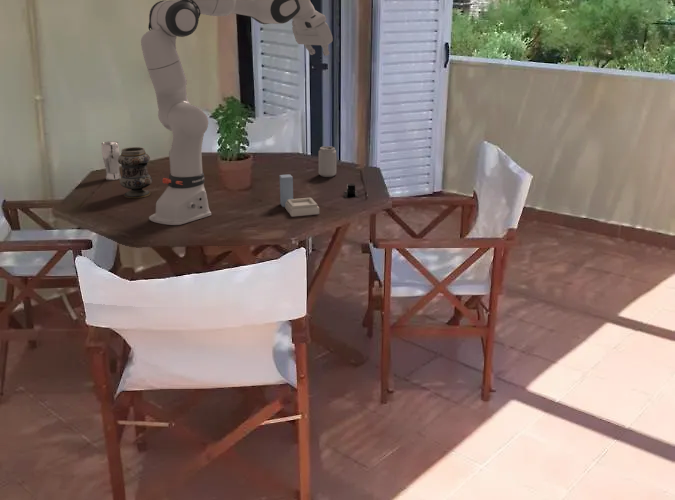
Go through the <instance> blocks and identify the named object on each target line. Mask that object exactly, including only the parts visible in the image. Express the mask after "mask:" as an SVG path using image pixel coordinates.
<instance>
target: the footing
mask: <svg viewBox="0 0 675 500" xmlns="http://www.w3.org/2000/svg"><path fill="white" fill-rule="evenodd" d="M284 208H285V209H286V211H287V213H289V215H290V217H302V216H312V215H320V207H319V206H318V203H317V202H316V201H315V200H314V199H313V198H312V197H303V198H301V197H300V198H293V199H287V202H285V207H284Z"/></svg>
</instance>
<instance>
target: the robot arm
mask: <svg viewBox="0 0 675 500" xmlns="http://www.w3.org/2000/svg"><path fill="white" fill-rule="evenodd" d="M231 14H235V15H240V16H247V17H250V18H252V19H253V20H255V21H256V22H257V23H260V24H262V25H271V24H272V25H273V24H274V25H281V24H286V23H288V22H290V20H292V21H291V25H292V27H291V30H292V33H293V37H294V39H295V41H296V42H297V44H298V45H303V46H304V47H305V49H307V51H308V53H309V55H310V56H313V55H315V54H316V50H315V48H313V46H321V48H322V49H323V51H322V54H323V56H325V57H327V56H329V55H330V54H331V52H330V51H329V44H332V42H333V39H334V38H333V37H334V36H333V34H332V31H331V29H330V27H329V24H328V23H327V22H326V21H327V17H326V15H325V14H324V13H321V12H319V11H317V10H316V9H315V6H314V5H313V3H312V2H311V0H159V1H157V2H155V4H153V6H152V7H151V8H150V10H149V15H148V30H149V31H148V30H147V31H146V32H145V33H144V34H143V35H142V36H141V39H140V46H141V50H142V56H143V59H144V62H145V67H146V69H147V72H148V75H149V77H150V81H151V83H152V86H153V89H154V92H155V96H156V102H157V108H158V111H157V117H158V120H159V121H160V123H161V124H162V126H163V127H164V128H165V129H166V130H168V131H171V132H172V140H171V141H172V142H171V147H170V150H169V151H168V157H169V158H168V159H169V170H170V171H169V172H170V174H169V176H168V178H167V177H163V178H162V183H163V184H167V187H166V188H165V189H164V191H163V192H162V194H161V195H160V197H158V199H157V201H156V203H155V213H153V214H151V215H149V216H148V220H149V221H151V222H154V223H157V224H161V225H168V226H180V225H184V224H187V223H190V222H194V221H197V220H199V219H203V218H207V217H210V216H212V212H211V210H210V208H209V206H210V205H209V201H208V195H207V191H206V188H205V174H204V171H203V158H202V156H203V154H202V149H203V148H202V147H203V143H204V142H203V140H204V137H205V133H206V132H207V131H208V128H209V119H208V116H207V114H206V113H205V111H203V110H202V109H201V108H200V107H199V106H197V105H194V104H191V102H190V101H189V99H188V92H187V85H188V80H187V77H186V73H185V72H184V71H185V70H184V69H183V65H182V61H181V59H180V56H179V54H178V51H177V47H176V42H177V41H176V40H177V37H178V38H179V37H180V38H184V37H188V36H190V35H192V34H193V33H194V32H195V31H196V29H197V27H198V26H199V18H200V16H201V15H205V16H209V17H210V16H211V17H229V16H230V15H231Z"/></svg>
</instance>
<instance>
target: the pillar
mask: <svg viewBox="0 0 675 500" xmlns="http://www.w3.org/2000/svg"><path fill="white" fill-rule="evenodd" d="M293 179H294V177H293V176H292V175H291V174H288V173H287V174H279V195H280V196H279V197H280V200H279V202H280V205H281V207H282V208H285V202H287V199H294V180H293Z"/></svg>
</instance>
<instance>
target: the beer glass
mask: <svg viewBox="0 0 675 500" xmlns="http://www.w3.org/2000/svg"><path fill="white" fill-rule="evenodd" d="M101 154H102V160H103V163H104V168H105V179H106V180H107V181H118V180H120V178H121V177H122V176H121V175H122V174H121V172H120V164H119V162H118V157H119V156H120V155H121V153H120V146H119V141H115V140H113V141H111V140H110V141H103V142H101Z"/></svg>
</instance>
